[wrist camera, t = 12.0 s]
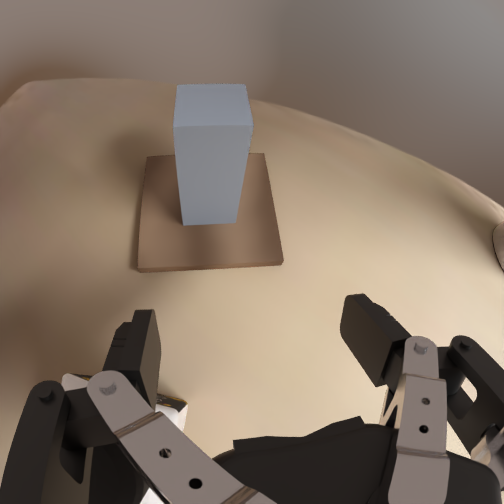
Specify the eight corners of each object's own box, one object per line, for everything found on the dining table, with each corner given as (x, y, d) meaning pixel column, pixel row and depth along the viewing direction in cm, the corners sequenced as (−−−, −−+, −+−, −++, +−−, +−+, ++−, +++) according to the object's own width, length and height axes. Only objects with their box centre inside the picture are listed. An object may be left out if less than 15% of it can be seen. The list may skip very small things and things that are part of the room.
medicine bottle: (189, 401, 20) (166, 424, 9) (174, 481, 16) (146, 559, 6) (102, 375, 19) (14, 362, 8) (89, 453, 16) (5, 492, 5)
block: (231, 181, 27) (245, 84, 17) (235, 223, 25) (253, 125, 15) (183, 183, 26) (177, 84, 16) (183, 225, 25) (173, 127, 15)
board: (262, 159, 30) (264, 153, 29) (281, 265, 25) (283, 260, 24) (148, 163, 28) (147, 156, 27) (140, 272, 23) (137, 268, 22)
